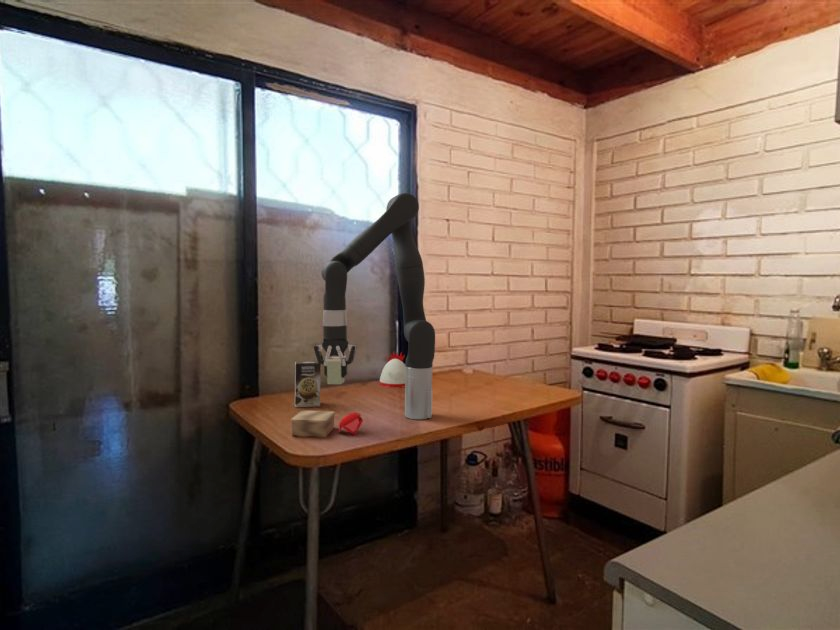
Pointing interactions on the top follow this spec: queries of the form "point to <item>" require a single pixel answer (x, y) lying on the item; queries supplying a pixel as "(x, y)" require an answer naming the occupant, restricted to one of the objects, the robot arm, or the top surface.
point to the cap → (351, 423)
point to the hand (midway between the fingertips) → (335, 376)
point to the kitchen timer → (393, 372)
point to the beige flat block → (313, 423)
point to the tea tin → (334, 371)
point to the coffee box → (307, 383)
